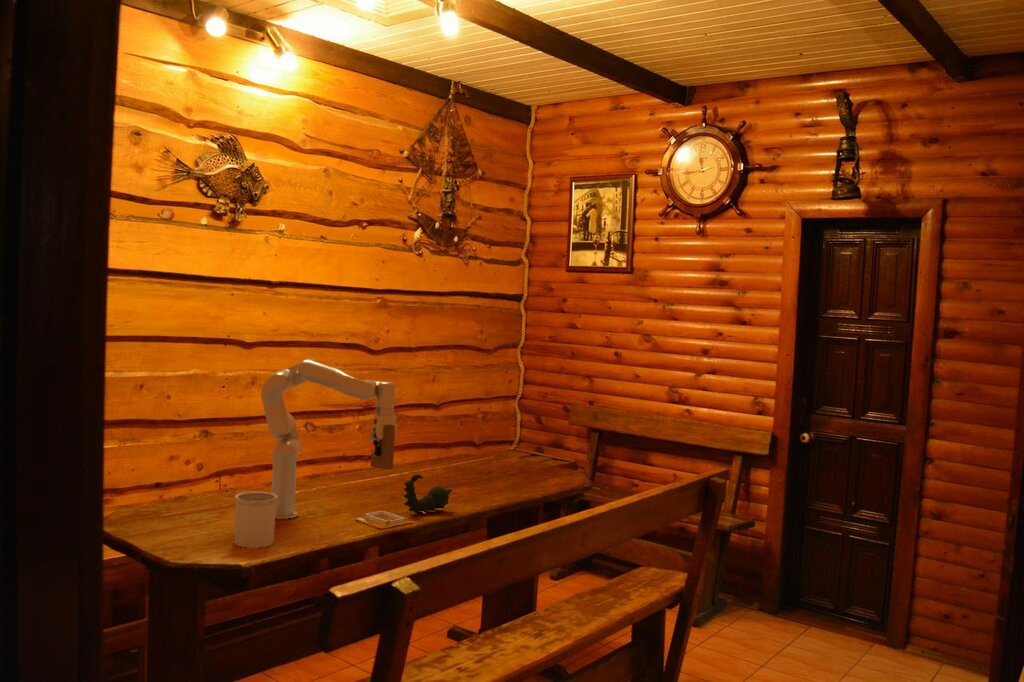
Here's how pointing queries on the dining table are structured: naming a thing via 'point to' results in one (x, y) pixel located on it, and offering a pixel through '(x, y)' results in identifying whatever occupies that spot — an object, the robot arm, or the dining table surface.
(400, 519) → the dock tray
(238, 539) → the utensil holder
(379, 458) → the wooden block
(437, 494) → the toy figurine
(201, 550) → the dining table surface
